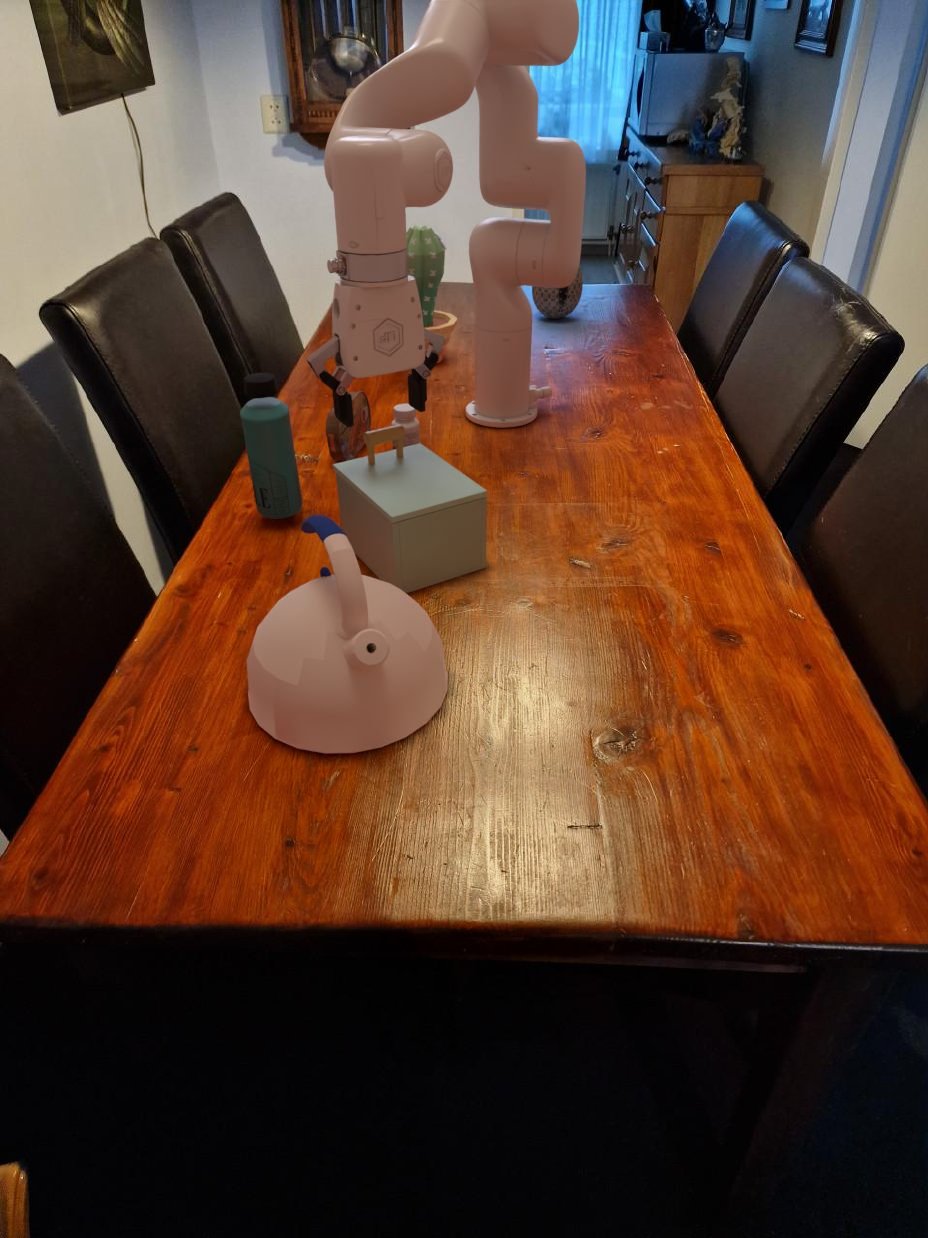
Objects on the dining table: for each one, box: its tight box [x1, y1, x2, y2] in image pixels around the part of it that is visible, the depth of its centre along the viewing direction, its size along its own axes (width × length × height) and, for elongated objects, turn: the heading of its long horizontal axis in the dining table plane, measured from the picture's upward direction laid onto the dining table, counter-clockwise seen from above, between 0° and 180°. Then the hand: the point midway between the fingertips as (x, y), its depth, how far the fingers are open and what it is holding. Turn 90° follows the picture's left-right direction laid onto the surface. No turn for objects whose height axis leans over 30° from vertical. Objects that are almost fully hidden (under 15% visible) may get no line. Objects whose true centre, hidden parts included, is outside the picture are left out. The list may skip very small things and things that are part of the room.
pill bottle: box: [391, 403, 421, 450], centre depth 128 cm, size 4×4×8 cm
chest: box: [335, 472, 488, 594], centre depth 102 cm, size 16×13×10 cm
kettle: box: [246, 514, 449, 754], centre depth 78 cm, size 20×21×18 cm
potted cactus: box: [406, 225, 458, 364], centre depth 162 cm, size 15×15×25 cm
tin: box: [325, 390, 372, 462], centre depth 129 cm, size 15×3×8 cm, turn 168°
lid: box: [332, 424, 488, 523], centre depth 98 cm, size 16×13×5 cm
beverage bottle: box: [239, 372, 303, 520], centre depth 107 cm, size 6×7×20 cm
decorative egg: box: [531, 266, 584, 320], centre depth 190 cm, size 12×12×15 cm
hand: (382, 415), depth 100 cm, fingers open, 9 cm apart
